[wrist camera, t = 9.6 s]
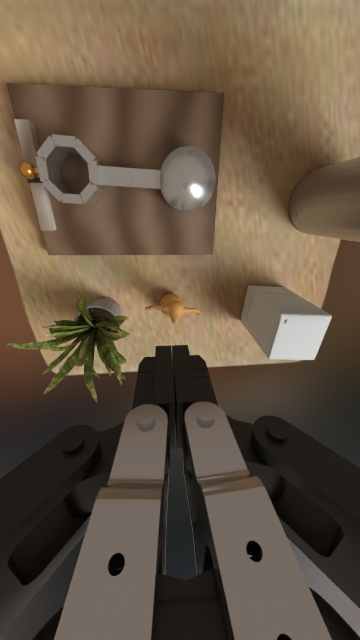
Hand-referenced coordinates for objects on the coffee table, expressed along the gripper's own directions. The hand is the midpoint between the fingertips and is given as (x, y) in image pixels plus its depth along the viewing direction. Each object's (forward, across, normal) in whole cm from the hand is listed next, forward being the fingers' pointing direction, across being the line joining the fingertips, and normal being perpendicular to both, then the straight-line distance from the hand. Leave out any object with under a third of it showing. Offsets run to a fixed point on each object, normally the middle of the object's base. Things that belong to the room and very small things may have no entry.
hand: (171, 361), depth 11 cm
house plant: (+29, +12, +10) cm, 33 cm away
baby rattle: (+27, +5, -10) cm, 29 cm away
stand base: (+29, +5, -10) cm, 31 cm away
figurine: (+29, -1, +7) cm, 30 cm away
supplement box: (+29, -18, +9) cm, 35 cm away
